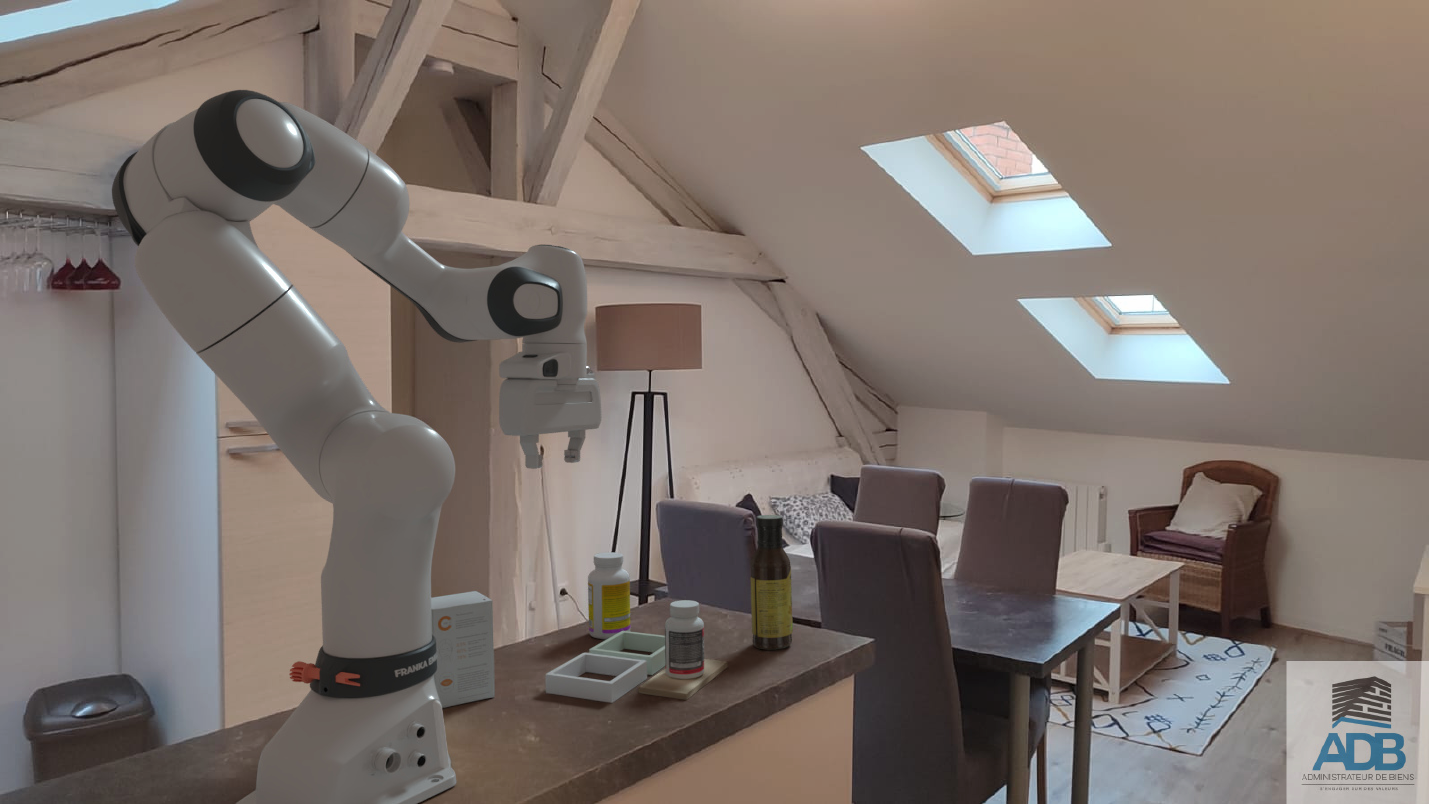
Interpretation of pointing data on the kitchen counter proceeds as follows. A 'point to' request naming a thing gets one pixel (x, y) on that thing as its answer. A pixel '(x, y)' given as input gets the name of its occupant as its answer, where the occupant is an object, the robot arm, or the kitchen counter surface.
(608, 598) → the supplement bottle
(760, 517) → the sauce bottle
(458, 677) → the small box
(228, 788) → the kitchen counter surface
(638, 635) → the sage tray
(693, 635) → the pill bottle
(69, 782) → the kitchen counter surface
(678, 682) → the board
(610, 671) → the white square frame
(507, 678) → the kitchen counter surface
